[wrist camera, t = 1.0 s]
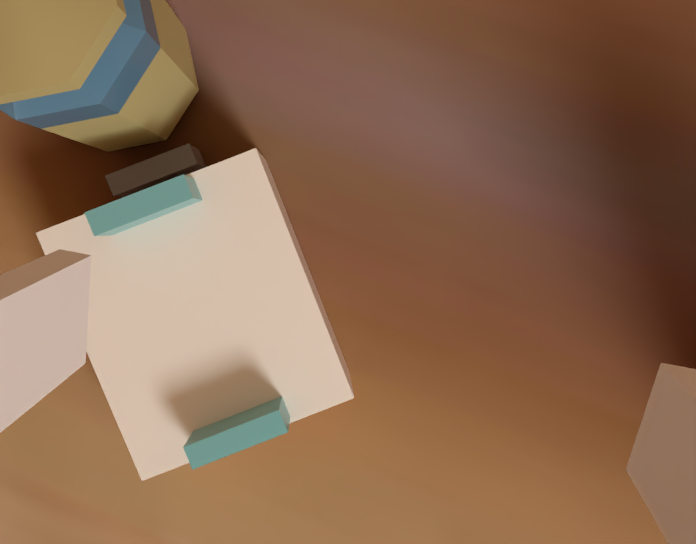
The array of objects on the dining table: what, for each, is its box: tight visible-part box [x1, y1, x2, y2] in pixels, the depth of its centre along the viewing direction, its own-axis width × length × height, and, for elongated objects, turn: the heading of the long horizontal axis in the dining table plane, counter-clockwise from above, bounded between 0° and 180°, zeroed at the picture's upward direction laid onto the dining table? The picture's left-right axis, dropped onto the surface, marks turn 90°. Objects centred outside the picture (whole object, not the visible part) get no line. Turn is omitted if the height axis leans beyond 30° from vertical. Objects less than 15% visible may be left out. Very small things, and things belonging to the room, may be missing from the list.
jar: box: [0, 0, 199, 152], centre depth 31 cm, size 9×9×15 cm
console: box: [36, 143, 354, 481], centre depth 34 cm, size 12×28×8 cm, turn 21°
